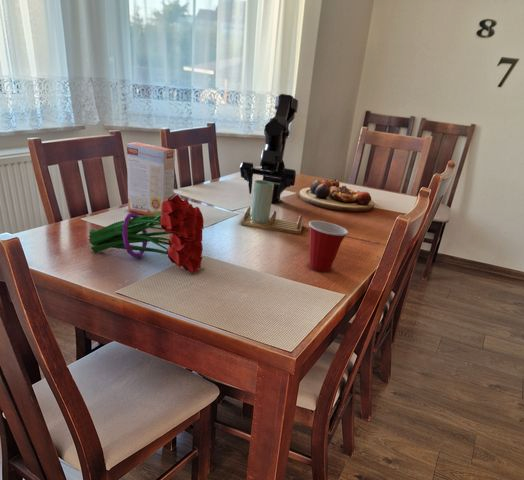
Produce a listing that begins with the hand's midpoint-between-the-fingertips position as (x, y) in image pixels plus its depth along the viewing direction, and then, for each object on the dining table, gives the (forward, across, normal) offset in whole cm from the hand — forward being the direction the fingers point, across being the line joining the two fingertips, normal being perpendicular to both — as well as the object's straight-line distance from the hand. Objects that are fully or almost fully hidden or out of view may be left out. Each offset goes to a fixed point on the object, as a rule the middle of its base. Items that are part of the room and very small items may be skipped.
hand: (263, 195), depth 160 cm
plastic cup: (+31, +22, -18) cm, 42 cm away
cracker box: (+15, -35, -2) cm, 38 cm away
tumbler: (+7, 0, +4) cm, 8 cm away
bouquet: (+42, -23, -30) cm, 56 cm away
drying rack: (+8, +4, +5) cm, 10 cm away
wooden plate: (-27, +26, +40) cm, 55 cm away
